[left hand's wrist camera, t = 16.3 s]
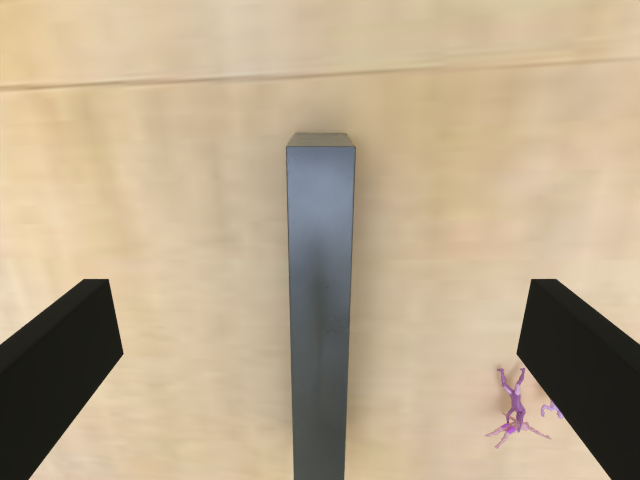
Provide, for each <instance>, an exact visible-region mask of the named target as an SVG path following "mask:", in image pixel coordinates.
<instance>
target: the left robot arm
mask: <svg viewBox="0 0 640 480" xmlns="http://www.w3.org/2000/svg"><path fill="white" fill-rule="evenodd" d="M122 355H123V349H122V344H121V339H120V334H119V329H118V324H117V319H116V314H115V309H114V304H113V299H112V294H111V289H110V284H109V279H83V280H82V281H81V282H80V283H78V284H77V285H76V286H74V287H73V288H72V289H71V290H69V291H68V292H67V293H66V294H64V295H63V296H62V297H60V298H59V299H58V300H57V301H55V302H54V303H53V304H52V305H50V306H49V307H48V308H46V309H45V310H44V311H43V312H41V313H40V314H39V315H38V316H36V317H35V318H34V319H32V320H31V321H30V322H29V323H27V324H26V325H25V326H24V327H22V328H21V329H20V330H18V331H17V332H16V333H15V334H13V335H12V336H11V337H9V338H8V339H7V340H6V341H4V342H3V343H2V344H1V345H0V480H29V478H30V477H31V476H32V474H33V473H34V472H35V470H36V469H37V468H38V466H39V465H40V464H41V462H42V461H43V460H44V458H45V457H46V456H47V455H48V453H49V452H50V451H51V449H52V448H53V447H54V445H55V444H56V443H57V441H58V440H59V439H60V437H61V436H62V435H63V433H64V432H65V431H66V429H67V428H68V427H69V425H70V424H71V423H72V421H73V420H74V419H75V417H76V416H77V415H78V413H79V412H80V411H81V410H82V408H83V407H84V406H85V404H86V403H87V402H88V400H89V399H90V398H91V396H92V395H93V394H94V392H95V391H96V390H97V388H98V387H99V386H100V384H101V383H102V382H103V380H104V379H105V378H106V376H107V375H108V374H109V372H110V371H111V370H112V368H113V367H114V366H115V365H116V363H117V362H118V361H119V359H120V358H121V357H122ZM517 355H518V357H519V358H520V359H521V361H522V362H523V363H524V365H525V366H526V367H527V368H528V370H529V371H530V372H531V374H532V375H533V376H534V378H535V379H536V380H537V382H538V383H539V384H540V386H541V387H542V388H543V390H544V391H545V392H546V394H547V395H548V396H549V398H550V399H551V400H552V402H553V403H554V404H555V406H556V407H557V408H558V410H559V411H560V412H561V413H562V415H563V416H564V417H565V419H566V420H567V421H568V423H569V424H570V425H571V427H572V428H573V429H574V431H575V432H576V433H577V435H578V436H579V437H580V439H581V440H582V441H583V443H584V444H585V445H586V447H587V448H588V449H589V451H590V452H591V453H592V455H593V456H594V457H595V458H596V460H597V461H598V462H599V464H600V465H601V466H602V468H603V469H604V470H605V472H606V473H607V474H608V476H609V477H610V478H611V480H640V345H639V344H638V343H637V342H636V341H634V340H633V339H632V338H631V337H629V336H628V335H627V334H625V333H624V332H623V331H622V330H620V329H619V328H618V327H616V326H615V325H614V324H613V323H611V322H610V321H609V320H608V319H606V318H605V317H604V316H602V315H601V314H600V313H599V312H597V311H596V310H595V309H594V308H592V307H591V306H590V305H588V304H587V303H586V302H585V301H583V300H582V299H581V298H580V297H578V296H577V295H576V294H574V293H573V292H572V291H571V290H569V289H568V288H567V287H566V286H564V285H563V284H562V283H560V282H559V281H558V280H557V279H531V284H530V289H529V294H528V299H527V304H526V309H525V314H524V319H523V324H522V329H521V334H520V339H519V344H518V349H517Z"/></svg>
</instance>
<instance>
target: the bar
mask: <svg viewBox="0 0 640 480" xmlns="http://www.w3.org/2000/svg"><path fill="white" fill-rule="evenodd" d="M355 152H356V147H355V145H354V144H353V143H352V141H351V140H350V138H349V137H348V135H347V134H346V133H295V134H294V135H293V137H292V138H291V140H290V141H289V143H288V145H287V146H286V168H287V210H288V252H289V294H290V336H291V378H292V419H293V461H294V480H344V470H345V441H346V412H347V383H348V354H349V325H350V296H351V267H352V238H353V209H354V181H355Z"/></svg>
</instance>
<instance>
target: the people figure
mask: <svg viewBox="0 0 640 480" xmlns="http://www.w3.org/2000/svg"><path fill="white" fill-rule="evenodd" d="M503 370H504V369H497V371H500V372H501V375H502V376H501V379H502V386H503V387H504V389H505V390H506V391H507V392H508V393H509V395H510V397H511V400H512V408H511V409H510V410H509V412H508V413H507V414H504V413H502V414H504V415H505V416H506V419H507V423H506V424H504V425H502V426H501V427H499V428H498V429H496V430H494V431H493V432H492V433H490V434H487V435H485V436H489V437H491V435H495V434H498V433H499V432H502V431H506V430H507V431H506V432H505V434H504V437H503V438H502V439H501V442H500V443H499V444H497V445H496V446H495V448H497V449H498V448H499V447H500V445H501V444H502V443H503V442H505V441H506V440H507V437H508V436H509V435H510V434H512V433H515V432H517V431H518V433H519V432H520V429H522V430H531V431H533V432H535V433H536V434H538V435H541V436H543V437H546V438H548V439H551V438H549V437H550V436H545V435H543V434H541V433H540V432H538V431H536V430H535V429H534V428H532V427H530V426H529V423H527V422H525V423H524V422H523V417H524V415H525V409H524V407H523V406H522V404H521V402H520V398H521V395H520V384H521V382H522V381H523V379H524V372H525V368H523V369H520V370H522V374H521V376H520V378H519V380H518V381H517V383H516V385H515V389H514V390H513V389H512V388H511V387H509V386H508V385H507V384H506V379H505V376H504V373H503ZM550 400H551V399H550ZM545 408H547V409H549V410H550V411H554V410H557V415H558V417H559V418H563V415H562V413H561V412H560V411H559V410H558V408H557V407H556V406H555V404H554V403H553V402H552V400H551V405H550V407H549V406H547V405H543V406H542V409H541V416H542V417H544V414H545V413H544V411H543V410H544V409H545ZM514 411H516V412H517V415H516V419H515V418H513V417H511V416H510V415H511V413H512V412H514ZM509 419H511V420H513V421H514V422H511V423H509Z"/></svg>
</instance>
